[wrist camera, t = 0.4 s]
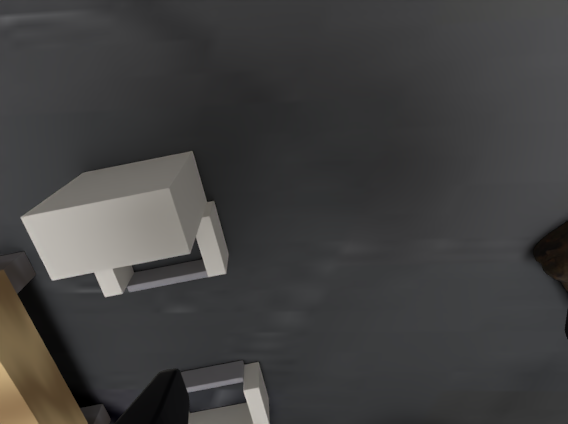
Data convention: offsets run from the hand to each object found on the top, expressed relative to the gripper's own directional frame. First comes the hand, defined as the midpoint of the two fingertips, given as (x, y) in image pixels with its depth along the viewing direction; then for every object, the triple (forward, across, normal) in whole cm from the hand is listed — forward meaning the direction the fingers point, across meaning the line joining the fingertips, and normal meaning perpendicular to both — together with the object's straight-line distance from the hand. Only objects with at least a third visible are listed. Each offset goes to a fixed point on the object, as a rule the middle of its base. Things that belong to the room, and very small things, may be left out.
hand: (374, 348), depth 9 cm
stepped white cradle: (+14, +9, +8) cm, 18 cm away
